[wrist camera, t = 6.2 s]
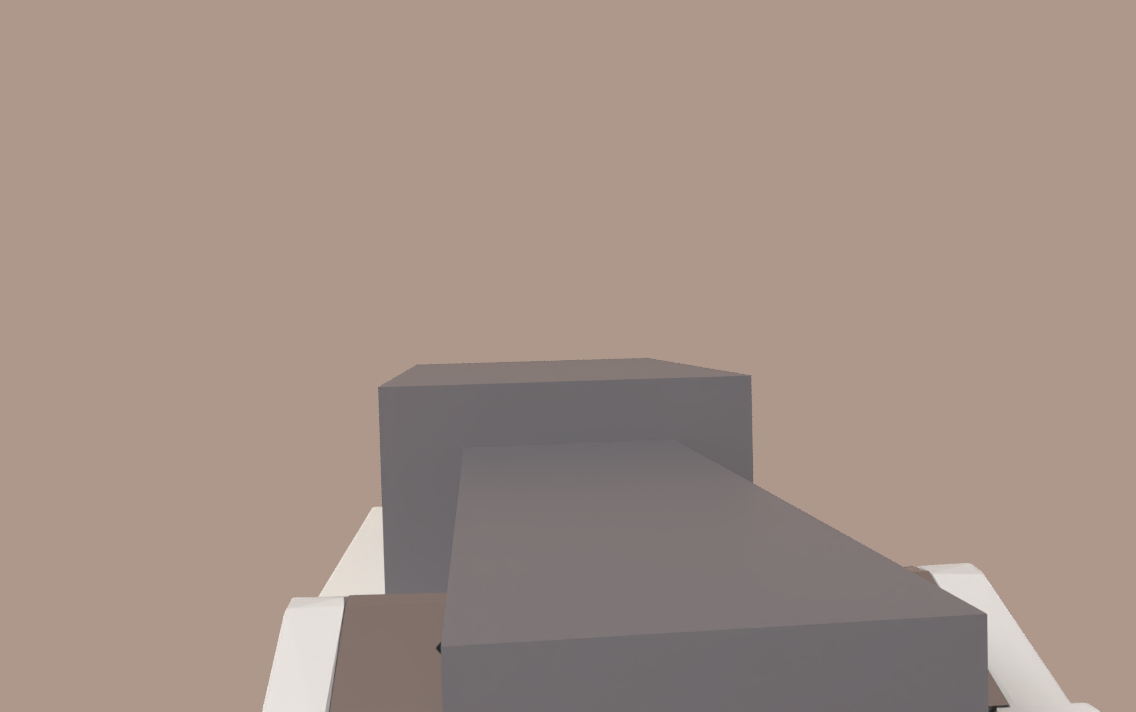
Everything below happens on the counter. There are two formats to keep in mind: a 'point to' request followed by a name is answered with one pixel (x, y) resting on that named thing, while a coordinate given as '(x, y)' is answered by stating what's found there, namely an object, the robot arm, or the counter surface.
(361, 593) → the tall shelf
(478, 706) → the grey boxy piece
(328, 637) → the robot arm
